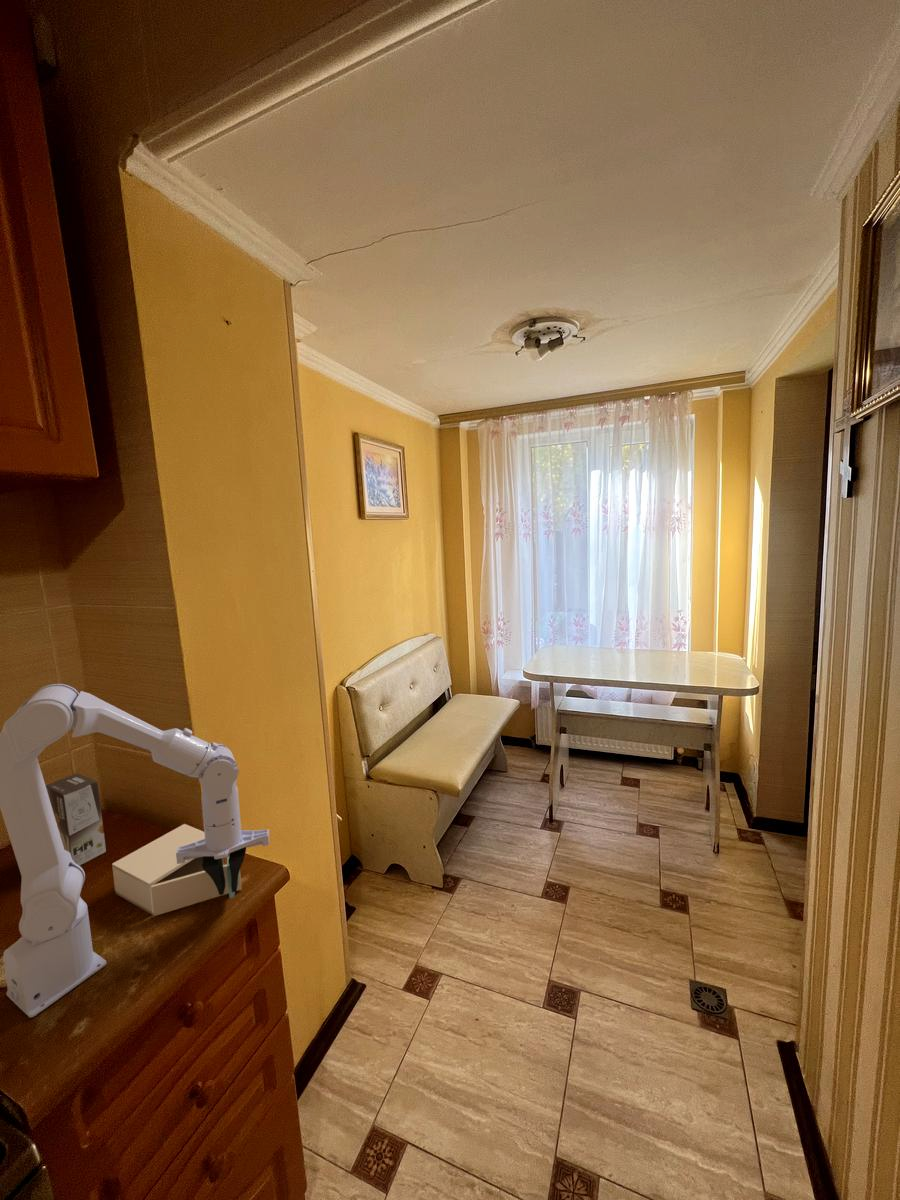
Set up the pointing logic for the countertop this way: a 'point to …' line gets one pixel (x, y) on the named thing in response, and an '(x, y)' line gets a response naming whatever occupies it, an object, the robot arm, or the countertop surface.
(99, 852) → the coffee box
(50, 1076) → the countertop surface
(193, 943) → the countertop surface
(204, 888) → the flap
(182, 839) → the carton
